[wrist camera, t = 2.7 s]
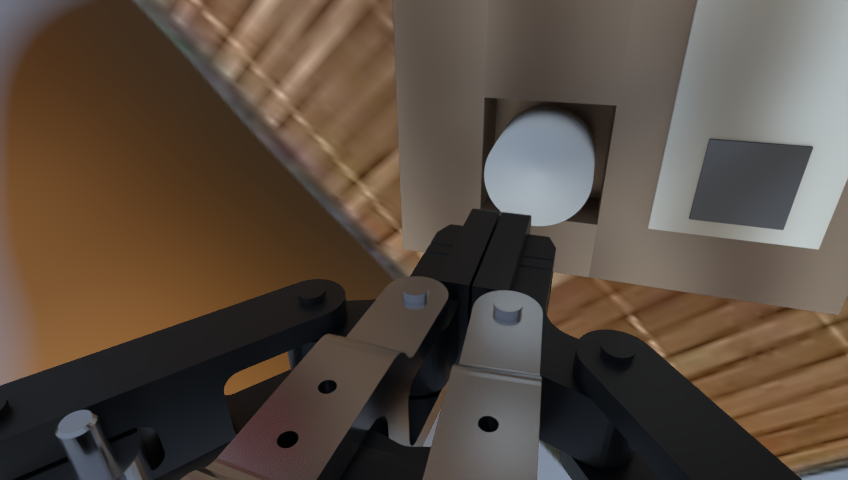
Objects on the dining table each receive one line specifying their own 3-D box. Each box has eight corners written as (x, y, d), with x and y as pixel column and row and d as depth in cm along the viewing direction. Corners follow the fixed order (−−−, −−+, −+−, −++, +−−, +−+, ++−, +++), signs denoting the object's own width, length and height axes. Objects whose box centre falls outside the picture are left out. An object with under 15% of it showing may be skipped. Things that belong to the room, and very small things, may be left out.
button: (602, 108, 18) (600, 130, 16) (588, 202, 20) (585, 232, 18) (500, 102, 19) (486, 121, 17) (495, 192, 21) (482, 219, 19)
